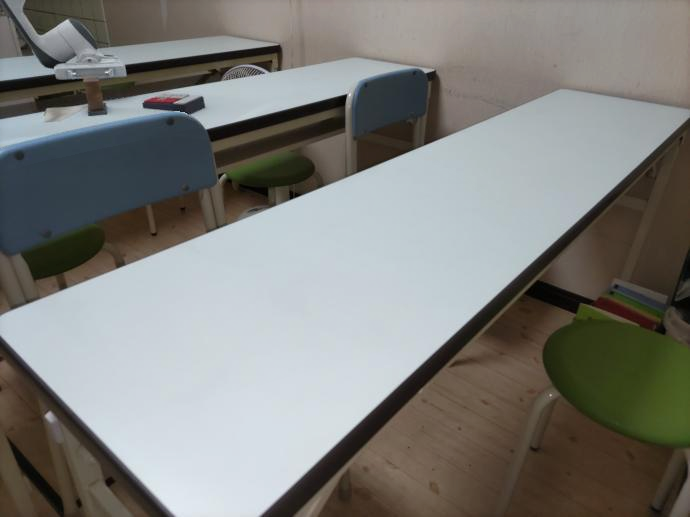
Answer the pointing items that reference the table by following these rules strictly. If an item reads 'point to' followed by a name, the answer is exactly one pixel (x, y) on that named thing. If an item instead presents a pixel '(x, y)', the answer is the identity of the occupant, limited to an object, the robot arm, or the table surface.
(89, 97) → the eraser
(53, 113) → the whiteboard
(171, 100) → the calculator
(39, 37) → the robot arm
